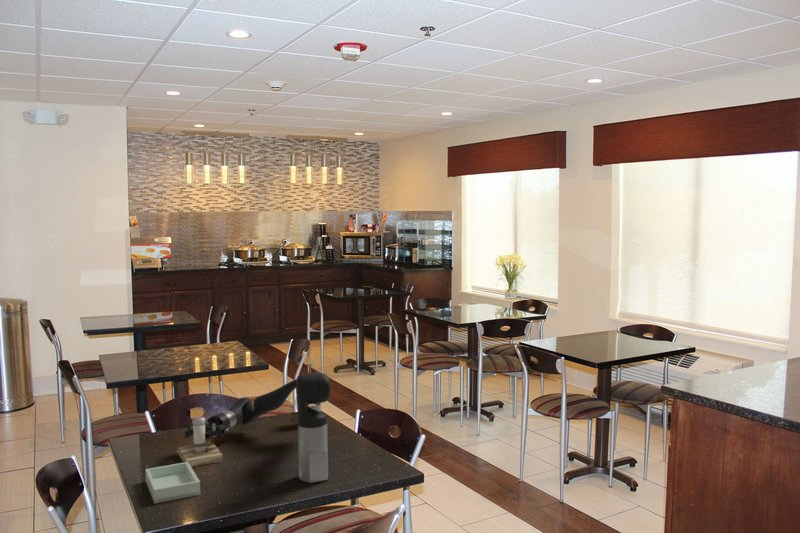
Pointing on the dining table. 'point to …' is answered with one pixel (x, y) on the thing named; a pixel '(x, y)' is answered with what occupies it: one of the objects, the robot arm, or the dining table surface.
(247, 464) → the dining table surface
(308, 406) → the robot arm
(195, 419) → the fuse
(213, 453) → the fuse holder
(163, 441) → the dining table surface
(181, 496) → the parts tray
